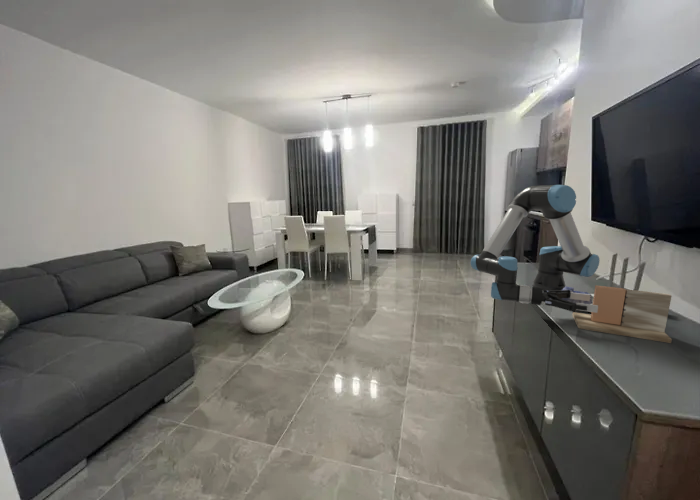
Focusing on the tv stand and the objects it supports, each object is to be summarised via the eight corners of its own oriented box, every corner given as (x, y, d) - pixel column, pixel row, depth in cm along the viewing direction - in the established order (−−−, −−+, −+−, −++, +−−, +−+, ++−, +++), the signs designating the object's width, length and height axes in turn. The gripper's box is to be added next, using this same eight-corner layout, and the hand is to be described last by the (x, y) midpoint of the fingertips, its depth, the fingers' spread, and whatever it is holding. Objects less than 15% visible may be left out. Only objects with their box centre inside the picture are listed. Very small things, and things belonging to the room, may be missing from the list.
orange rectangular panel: (590, 318, 120) (595, 285, 117) (618, 322, 116) (623, 288, 113) (591, 320, 118) (596, 287, 115) (620, 324, 114) (625, 290, 111)
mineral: (562, 288, 134) (556, 281, 143) (556, 308, 137) (550, 299, 146) (601, 295, 129) (592, 287, 139) (594, 315, 132) (586, 306, 141)
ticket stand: (572, 315, 128) (576, 280, 125) (654, 327, 115) (661, 289, 113) (578, 328, 116) (583, 290, 113) (671, 343, 103) (679, 300, 100)
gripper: (528, 294, 139) (585, 302, 129) (531, 313, 117) (599, 324, 107) (530, 279, 137) (588, 285, 127) (533, 295, 116) (602, 304, 106)
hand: (593, 303), depth 117 cm, fingers open, 13 cm apart
